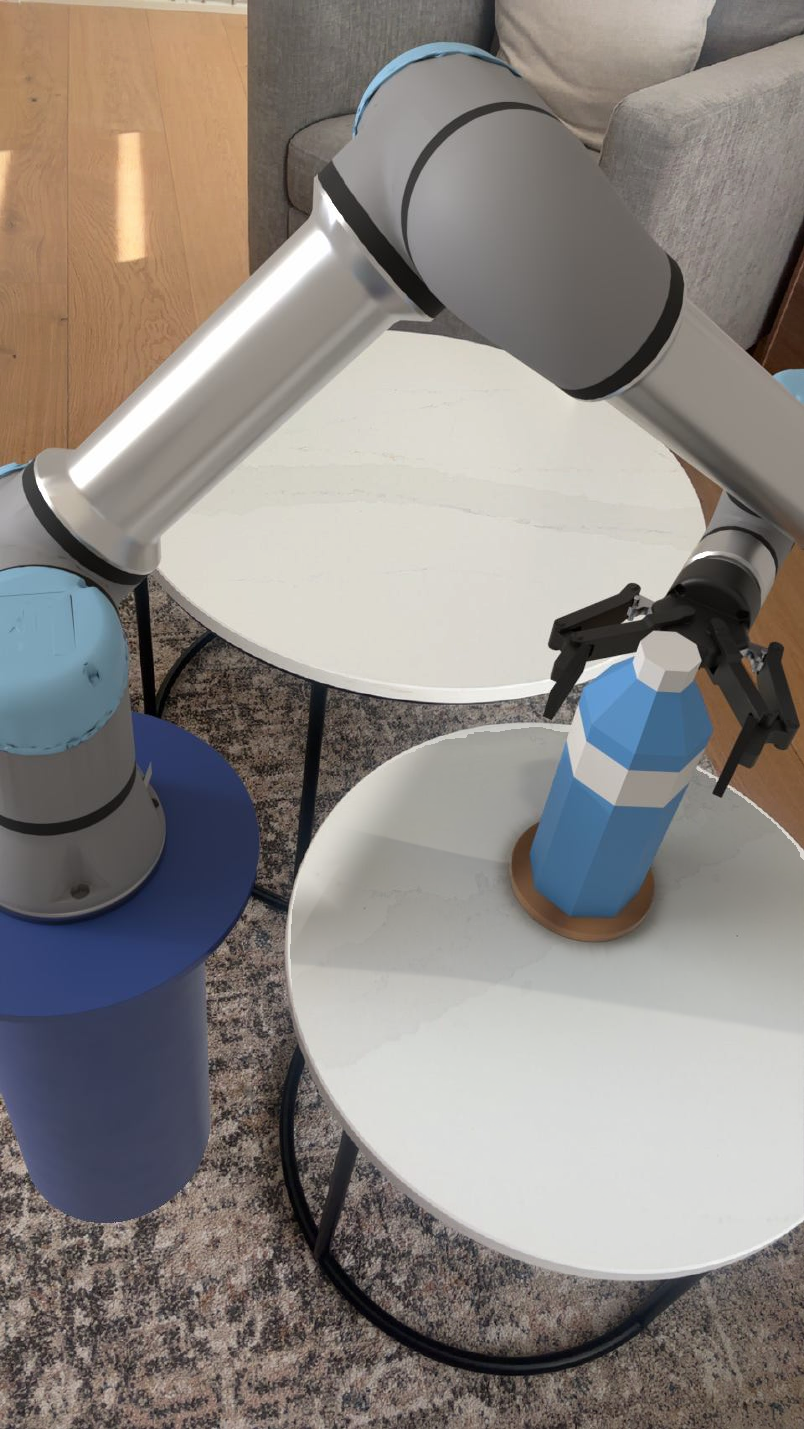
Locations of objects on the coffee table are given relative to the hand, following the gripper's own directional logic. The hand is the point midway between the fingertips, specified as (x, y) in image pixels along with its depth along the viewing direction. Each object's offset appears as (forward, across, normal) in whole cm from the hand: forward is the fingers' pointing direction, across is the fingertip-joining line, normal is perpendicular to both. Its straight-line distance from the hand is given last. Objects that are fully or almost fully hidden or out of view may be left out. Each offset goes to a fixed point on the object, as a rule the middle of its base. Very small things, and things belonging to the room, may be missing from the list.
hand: (634, 744), depth 80 cm
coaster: (+1, 0, -16) cm, 16 cm away
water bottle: (+1, 0, -15) cm, 15 cm away
